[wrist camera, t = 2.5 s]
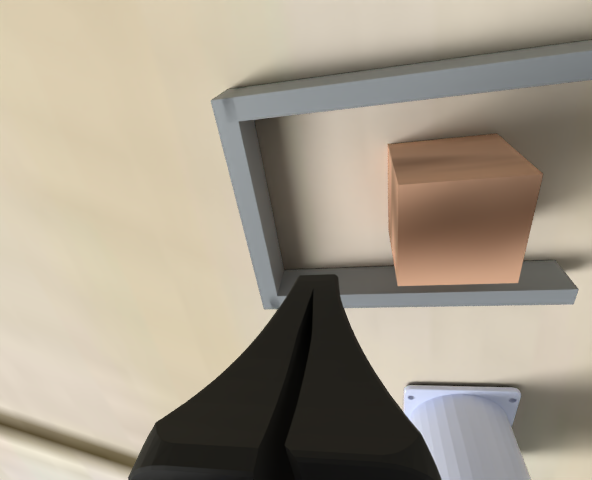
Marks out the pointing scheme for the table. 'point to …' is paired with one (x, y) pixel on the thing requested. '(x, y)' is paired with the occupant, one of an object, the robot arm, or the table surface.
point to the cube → (459, 210)
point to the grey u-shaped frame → (377, 91)
